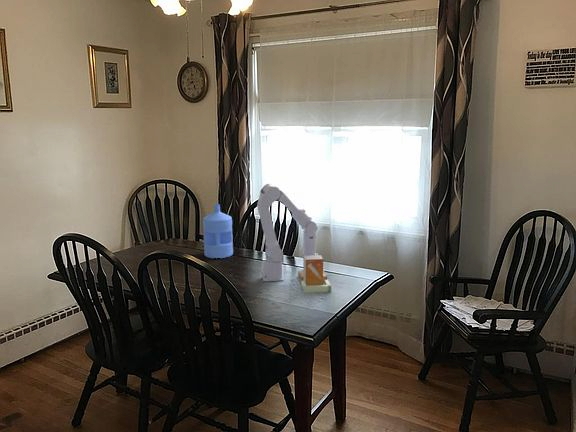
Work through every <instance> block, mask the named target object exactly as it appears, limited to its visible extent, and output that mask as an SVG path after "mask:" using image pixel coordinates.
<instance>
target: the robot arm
mask: <svg viewBox="0 0 576 432" xmlns="http://www.w3.org/2000/svg"><path fill="white" fill-rule="evenodd" d="M276 201H278V202H280V203H282V204H283V205H284V207H286V208H287V209H288V210H289V211H290V212H291V217H292V218H293V219H294V221H295V222H297V224H298V225H299V226H300V227H301V229H302V230H303V234H302V235H303V236H302V237H303V238H302V239H303V240H302V241H303V242H302V243H303V250H302V251H303V253H302V257H303V256H310V255H319V254H318V252H317V253H316V233H317V231H318V228H319V227H318V225H317V223H316V222H315V221H313V220H312V217H311V216H309V215H308V214H307V213H306V210H305V209H304V208H300V207H297V206H296V205H295V204H294V202H293V201H292V200H291V199H290V198H289V196H287V194H286V193H285V192H284V191H282V190H281V189H280V188H279V187H277V186H274V185H273V184H271V183H266V184H265V185H263V186H262V188H261V189H260V191H259V196H258V200H257V205H256V207H257V211H258V214H259V218H260V223H261V228H262V231H263V234H264V239H265V249H264V250H265V251H264V252H265V255H266V256H267V257H266V260H265V259H264V260H262V261H261V268H262V269H261V277H262V281H263V282H280V281H281V282H283V281H284V276H283V258H284V252H283V249H281V247H280V244H279V242H278V240H277V235H276V232H275V227H274V224H273V219H272V215H271V211H270V207H271V206H272V204H273V203H274V202H276Z"/></svg>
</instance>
